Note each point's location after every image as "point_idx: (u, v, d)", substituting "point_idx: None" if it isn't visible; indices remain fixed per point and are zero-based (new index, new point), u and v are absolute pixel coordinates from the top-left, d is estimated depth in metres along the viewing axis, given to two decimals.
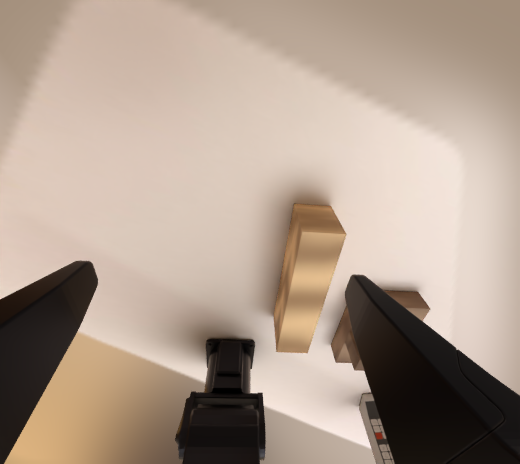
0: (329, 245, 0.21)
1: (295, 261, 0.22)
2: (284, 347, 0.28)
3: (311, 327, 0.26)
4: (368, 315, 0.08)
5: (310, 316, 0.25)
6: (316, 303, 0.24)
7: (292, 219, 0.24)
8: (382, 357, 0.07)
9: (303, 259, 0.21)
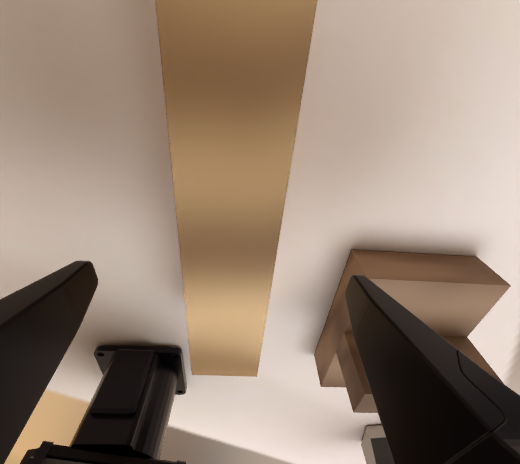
0: (263, 33, 0.06)
1: None
2: (205, 365, 0.13)
3: (254, 322, 0.12)
4: (368, 315, 0.08)
5: (246, 297, 0.11)
6: (255, 262, 0.10)
7: None
8: (382, 357, 0.07)
9: (188, 101, 0.07)
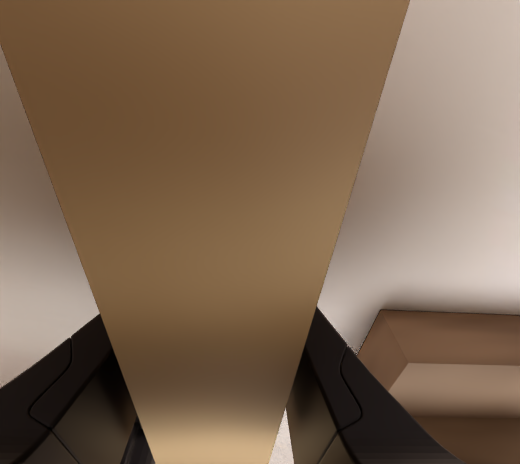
0: None
1: None
2: None
3: (254, 454, 0.08)
4: None
5: (243, 432, 0.07)
6: (256, 397, 0.06)
7: None
8: None
9: (98, 161, 0.03)
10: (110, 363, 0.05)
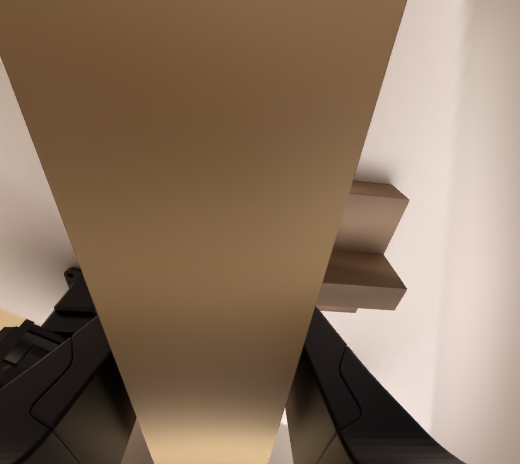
0: None
1: None
2: None
3: (253, 454, 0.08)
4: None
5: (242, 432, 0.07)
6: (255, 397, 0.06)
7: None
8: None
9: (94, 156, 0.03)
10: (111, 363, 0.05)
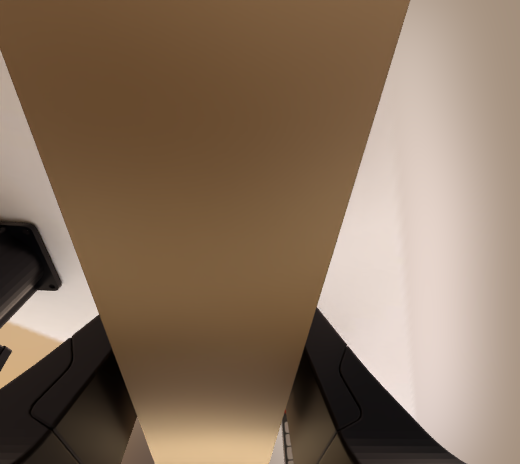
0: None
1: None
2: None
3: (254, 454, 0.08)
4: None
5: (242, 432, 0.07)
6: (256, 397, 0.06)
7: None
8: None
9: (96, 155, 0.03)
10: (111, 363, 0.05)
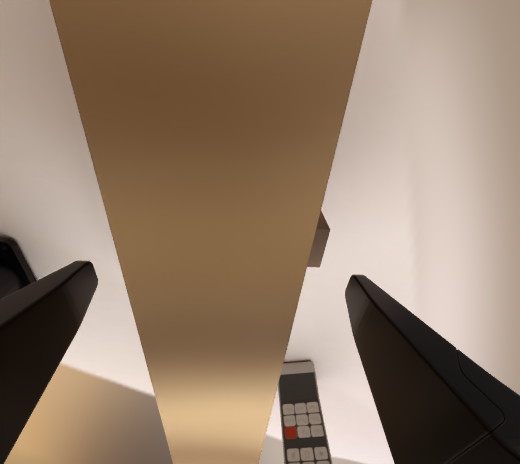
0: (270, 0, 0.03)
1: None
2: (191, 458, 0.10)
3: (254, 418, 0.08)
4: (368, 315, 0.08)
5: (243, 394, 0.08)
6: (255, 358, 0.07)
7: None
8: (382, 357, 0.07)
9: (129, 137, 0.04)
10: None
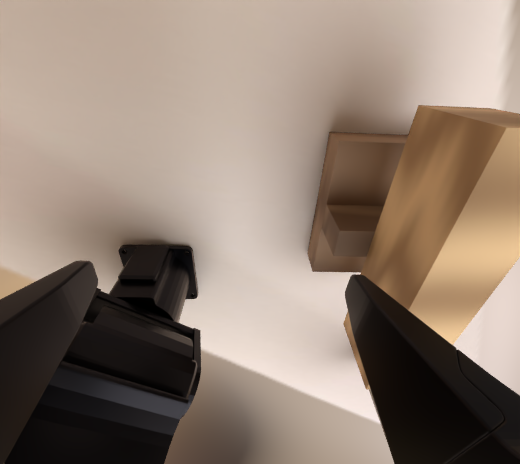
0: None
1: (455, 214, 0.10)
2: None
3: None
4: (368, 315, 0.08)
5: (445, 330, 0.13)
6: (467, 305, 0.12)
7: (415, 140, 0.12)
8: (382, 357, 0.07)
9: (479, 207, 0.09)
10: None
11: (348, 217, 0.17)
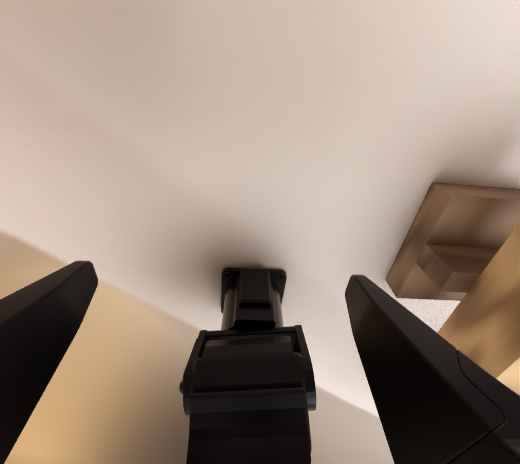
0: None
1: None
2: None
3: None
4: (368, 315, 0.08)
5: None
6: None
7: None
8: (382, 357, 0.07)
9: None
10: None
11: (451, 258, 0.20)
